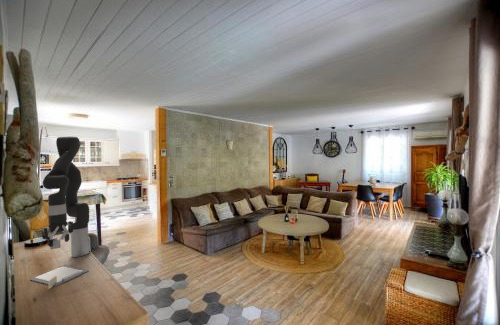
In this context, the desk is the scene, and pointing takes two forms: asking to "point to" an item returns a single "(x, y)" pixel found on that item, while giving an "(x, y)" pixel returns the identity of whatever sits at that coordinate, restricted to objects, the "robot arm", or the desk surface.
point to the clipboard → (60, 275)
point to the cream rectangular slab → (52, 282)
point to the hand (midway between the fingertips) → (58, 243)
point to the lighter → (57, 241)
